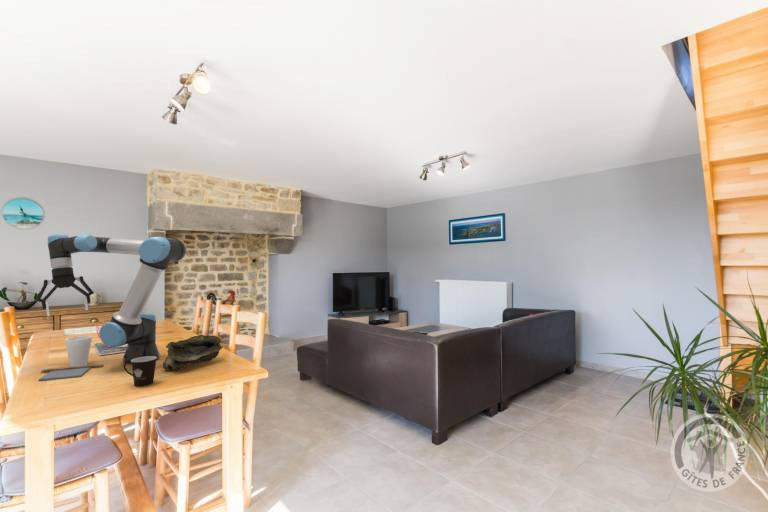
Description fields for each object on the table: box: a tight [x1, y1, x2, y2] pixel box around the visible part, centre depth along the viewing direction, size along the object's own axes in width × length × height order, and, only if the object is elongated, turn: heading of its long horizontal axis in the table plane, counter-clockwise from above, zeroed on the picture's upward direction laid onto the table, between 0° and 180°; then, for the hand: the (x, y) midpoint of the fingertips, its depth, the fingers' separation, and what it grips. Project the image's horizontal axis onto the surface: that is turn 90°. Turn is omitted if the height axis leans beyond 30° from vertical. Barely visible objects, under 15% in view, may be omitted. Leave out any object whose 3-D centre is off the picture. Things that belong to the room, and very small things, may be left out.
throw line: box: [40, 363, 104, 374], centre depth 166 cm, size 22×2×1 cm, turn 113°
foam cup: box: [65, 335, 93, 367], centre depth 172 cm, size 10×9×13 cm
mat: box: [38, 367, 92, 382], centre depth 158 cm, size 14×12×1 cm
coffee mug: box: [123, 356, 157, 388], centre depth 148 cm, size 12×9×10 cm
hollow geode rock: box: [162, 334, 223, 372], centre depth 175 cm, size 28×13×15 cm
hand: (68, 313), depth 169 cm, fingers open, 13 cm apart
